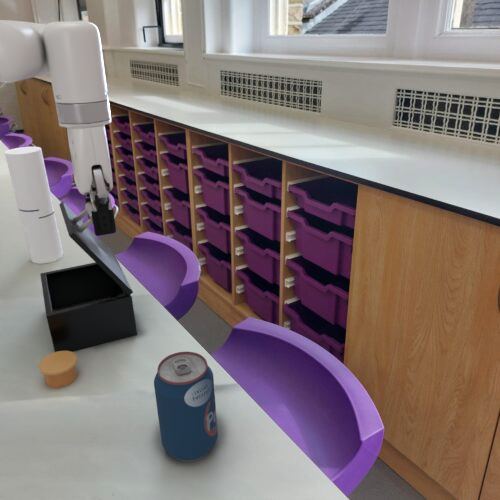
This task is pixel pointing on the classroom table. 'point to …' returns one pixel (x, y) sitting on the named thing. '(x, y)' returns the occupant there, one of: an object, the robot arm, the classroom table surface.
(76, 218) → the lid
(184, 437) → the soda can
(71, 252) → the classroom table surface
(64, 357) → the cylinder
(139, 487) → the classroom table surface
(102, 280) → the black hinged storage box
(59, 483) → the classroom table surface
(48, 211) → the cylindrical container
